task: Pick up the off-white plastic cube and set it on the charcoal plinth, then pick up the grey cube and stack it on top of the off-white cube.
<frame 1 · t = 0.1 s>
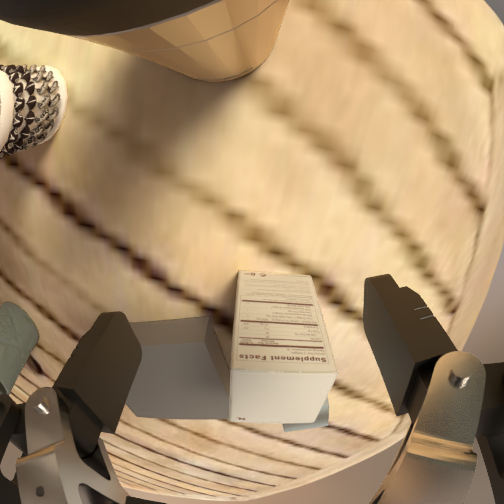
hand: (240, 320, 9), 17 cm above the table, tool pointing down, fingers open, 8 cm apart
grey cube: (301, 384, 37), on the table
supplement box: (271, 298, 30), on the table
decorative candle: (38, 104, 20), on the table
plinth: (168, 365, 36), on the table
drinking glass: (19, 321, 34), on the table
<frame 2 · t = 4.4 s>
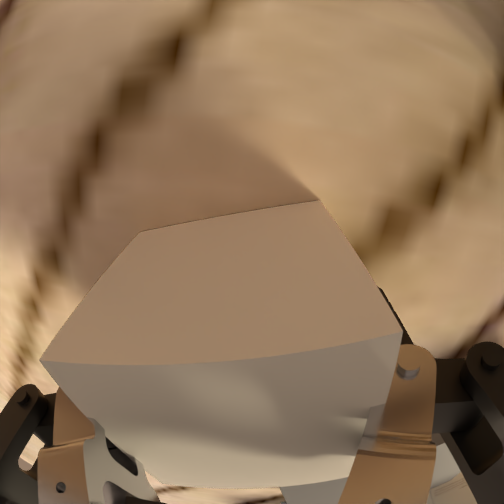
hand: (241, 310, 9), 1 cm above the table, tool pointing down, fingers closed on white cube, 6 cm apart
white cube: (243, 294, 10), on the table, touching gripper
supplement box: (429, 467, 23), on the table
plinth: (387, 446, 17), on the table
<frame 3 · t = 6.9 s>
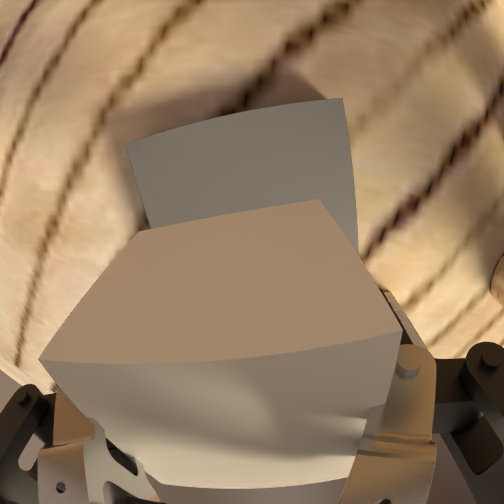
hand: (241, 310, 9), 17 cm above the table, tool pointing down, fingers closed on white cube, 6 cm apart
white cube: (242, 294, 10), point 16 cm above the table, touching gripper
supplement box: (355, 315, 31), on the table
plinth: (252, 204, 25), on the table
when the fingers open (6 cm above the table, at t = 9.8 s): white cube drops 1 cm, resting on plinth.
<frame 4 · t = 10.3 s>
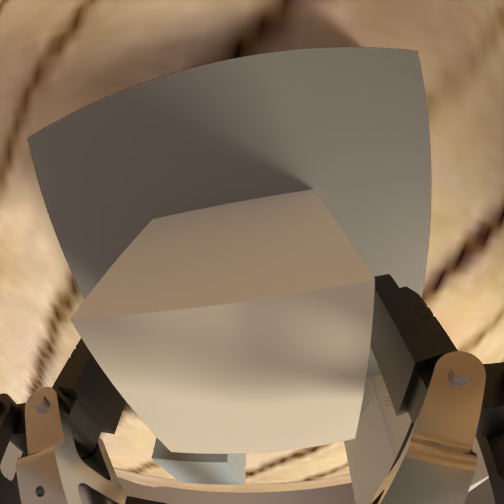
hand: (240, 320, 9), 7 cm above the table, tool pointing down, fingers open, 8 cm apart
grey cube: (207, 418, 23), on the table
white cube: (246, 275, 12), point 4 cm above the table, touching plinth
supplement box: (385, 380, 21), on the table
plinth: (247, 235, 15), on the table
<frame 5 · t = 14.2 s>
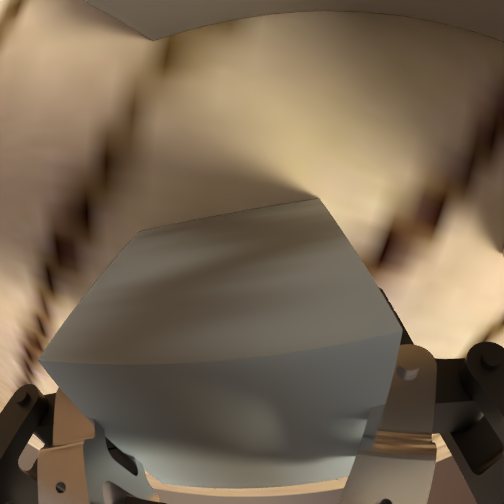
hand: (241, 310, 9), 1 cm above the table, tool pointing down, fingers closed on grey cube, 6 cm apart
grey cube: (243, 293, 10), on the table, touching gripper
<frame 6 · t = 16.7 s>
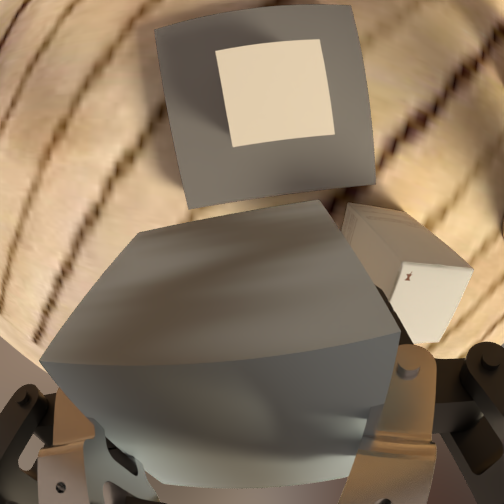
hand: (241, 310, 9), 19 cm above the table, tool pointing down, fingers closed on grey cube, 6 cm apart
grey cube: (242, 294, 10), point 18 cm above the table, touching gripper
white cube: (270, 97, 20), point 4 cm above the table, touching plinth
supplement box: (369, 237, 29), on the table
plinth: (267, 100, 23), on the table
when the fingers open (12 cm above the table, at t = 19.1 s): grey cube drops 1 cm, resting on white cube.
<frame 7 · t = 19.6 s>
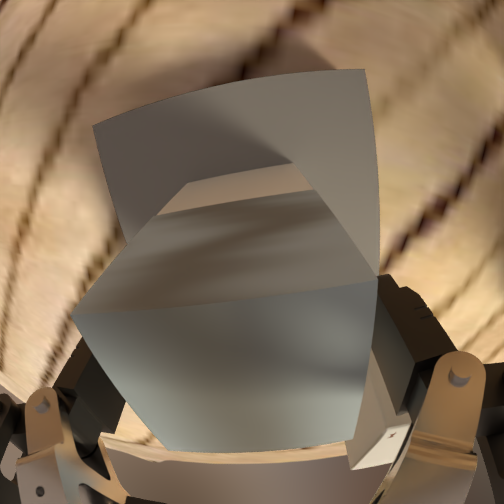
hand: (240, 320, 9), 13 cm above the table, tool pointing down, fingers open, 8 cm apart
grey cube: (245, 274, 11), point 10 cm above the table, touching white cube
white cube: (249, 222, 17), point 4 cm above the table, touching grey cube, plinth
supplement box: (367, 335, 26), on the table
plinth: (249, 202, 20), on the table
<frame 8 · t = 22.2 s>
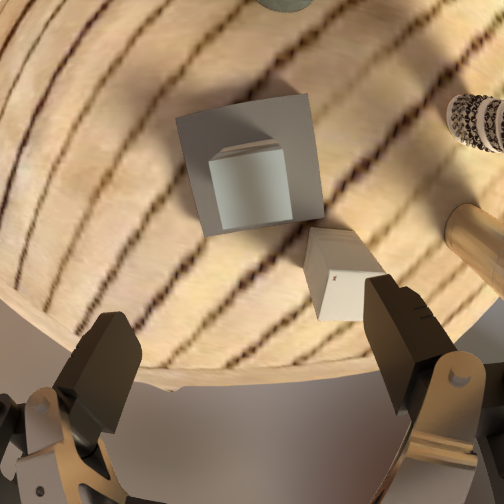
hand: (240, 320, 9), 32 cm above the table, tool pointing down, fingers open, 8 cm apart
grey cube: (252, 176, 29), point 10 cm above the table, touching white cube
supplement box: (328, 249, 44), on the table
decorative candle: (464, 119, 33), on the table
plinth: (253, 161, 38), on the table
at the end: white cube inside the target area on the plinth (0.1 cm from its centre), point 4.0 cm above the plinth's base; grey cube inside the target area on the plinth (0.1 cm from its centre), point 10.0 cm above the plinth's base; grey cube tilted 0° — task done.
